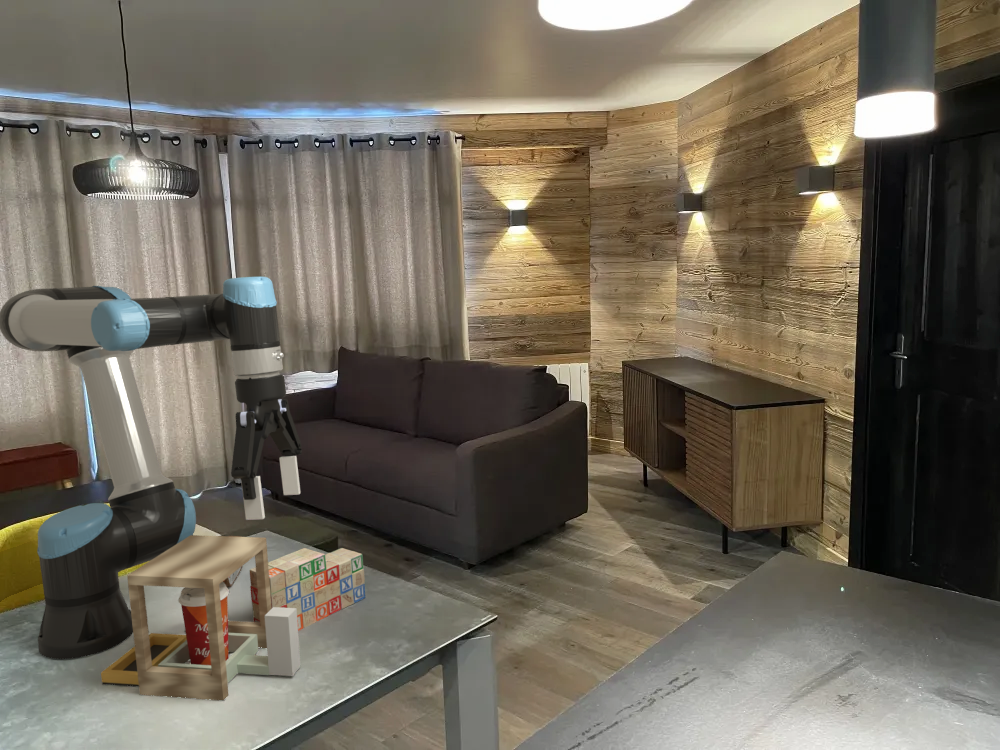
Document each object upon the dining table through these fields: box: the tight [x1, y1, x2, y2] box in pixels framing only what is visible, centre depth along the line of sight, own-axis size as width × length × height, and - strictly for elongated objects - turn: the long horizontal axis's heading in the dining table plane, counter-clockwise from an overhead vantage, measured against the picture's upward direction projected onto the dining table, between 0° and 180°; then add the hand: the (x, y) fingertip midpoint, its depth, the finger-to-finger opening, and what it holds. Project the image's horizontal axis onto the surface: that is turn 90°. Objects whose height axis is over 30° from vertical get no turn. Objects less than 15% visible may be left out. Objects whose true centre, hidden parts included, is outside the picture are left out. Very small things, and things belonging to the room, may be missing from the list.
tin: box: [223, 535, 243, 588], centre depth 157 cm, size 15×3×8 cm, turn 6°
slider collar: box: [158, 607, 302, 684], centre depth 121 cm, size 21×11×10 cm, turn 81°
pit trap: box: [100, 632, 187, 688], centre depth 124 cm, size 7×13×2 cm, turn 171°
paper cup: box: [177, 582, 230, 665], centre depth 121 cm, size 8×8×14 cm
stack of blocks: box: [249, 547, 366, 632], centre depth 140 cm, size 21×6×12 cm, turn 142°
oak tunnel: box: [126, 534, 272, 701], centre depth 121 cm, size 14×17×20 cm
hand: (274, 506), depth 120 cm, fingers open, 13 cm apart
